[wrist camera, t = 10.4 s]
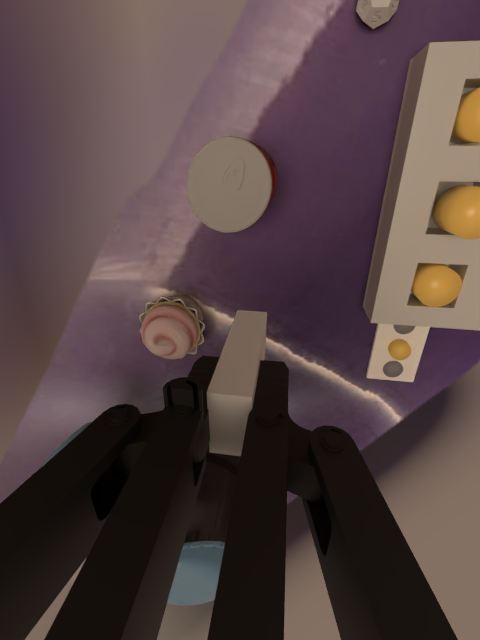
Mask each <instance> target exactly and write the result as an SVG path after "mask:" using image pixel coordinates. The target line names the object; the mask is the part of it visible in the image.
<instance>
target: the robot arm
mask: <svg viewBox="0 0 480 640" xmlns="http://www.w3.org/2000/svg"><path fill="white" fill-rule="evenodd" d="M266 323H267V312H258V311H243V310H237V313H236V316H235V318H234V321H233V324H232V326H231V329H230V332H229V334H228V337H227V340H226V342H225V345H224V348H223V350H222V353H221V356H220V357H211V356H202V357H201V358H199V359H198V360H197V361H196V362H195V363H194V365H193V367H192V369H191V371H190V373H189V375H188V377H183V378H177V379H173V380H171V381H169V382H168V383H166V384H165V386H164V387H163V394H164V402H165V408H164V410H162V411H159V412H154V413H147V414H140V412H139V410H138V408H137V407H135V406H133V405H128V404H122V405H117V406H114V407H111V408H109V409H108V410H106V411H105V412H103V413H102V414H101V415H100V416H99V417H98V418H96V419H95V420H94V421H93V422H90V423H87V424H85V425H84V426H82V427H81V428H79V429H78V430H77V431H76V432H75V433H74V434H73V435H71V436H70V437H69V438H68V439H67V440H66V441H65V442H64V443H63V444H62V445H61V446H60V447H59V448H58V449H57V450H56V451H55V452H54V453H53V454H52V455H51V456H50V457H49V458H48V459H47V461H46V462H45V463H44V464H43V465H42V466H41V467H40V468H39V469H38V471H37V472H36V473H34V474H33V475H32V476H31V477H30V478H29V479H28V480H26V481H25V482H24V483H23V484H22V485H21V486H20V487H19V488H17V489H16V490H15V491H14V492H13V493H12V494H11V495H10V496H8V497H7V498H6V499H5V500H4V501H3V502H2V503H1V504H0V640H157V636H158V632H159V629H160V626H161V622H162V618H163V615H164V611H165V608H166V604H172V605H197V604H203V603H206V602H210V601H212V600H214V599H215V601H214V606H213V612H212V618H211V623H210V628H209V634H208V640H284V601H285V556H286V510H287V491H289V492H291V493H293V494H295V495H298V496H300V497H302V500H303V504H304V508H305V512H306V515H307V518H308V522H309V526H310V529H311V533H312V537H313V540H314V543H315V547H316V550H317V554H318V558H319V562H320V565H321V569H322V573H323V576H324V580H325V583H326V587H327V590H328V594H329V598H330V601H331V605H332V608H333V612H334V615H335V619H336V623H337V626H338V630H339V633H340V637H341V640H458V639H457V637H456V635H455V633H454V632H453V630H452V628H451V626H450V624H449V622H448V620H447V618H446V616H445V614H444V612H443V611H442V609H441V607H440V605H439V603H438V601H437V599H436V597H435V595H434V593H433V591H432V589H431V588H430V586H429V584H428V582H427V580H426V578H425V576H424V574H423V572H422V571H421V568H420V567H419V565H418V563H417V561H416V559H415V557H414V555H413V553H412V551H411V549H410V547H409V546H408V544H407V542H406V540H405V538H404V536H403V534H402V532H401V530H400V528H399V526H398V524H397V523H396V521H395V519H394V517H393V515H392V513H391V511H390V509H389V507H388V505H387V503H386V501H385V500H384V498H383V496H382V494H381V492H380V491H379V488H378V486H377V484H376V482H375V480H374V479H373V477H372V475H371V473H370V471H369V469H368V467H367V465H366V463H365V461H364V459H363V457H362V455H361V454H360V452H359V450H358V448H357V446H356V444H355V442H354V440H353V439H352V438H351V436H350V435H349V434H348V433H346V432H345V431H343V430H342V429H340V428H337V427H334V426H321V427H318V428H316V429H315V430H313V431H309V430H307V429H304V428H302V427H300V426H298V425H297V424H295V423H294V422H293V421H292V420H291V418H290V416H289V414H288V375H289V369H288V368H287V366H286V365H285V363H284V362H277V361H266V360H265V344H266Z"/></svg>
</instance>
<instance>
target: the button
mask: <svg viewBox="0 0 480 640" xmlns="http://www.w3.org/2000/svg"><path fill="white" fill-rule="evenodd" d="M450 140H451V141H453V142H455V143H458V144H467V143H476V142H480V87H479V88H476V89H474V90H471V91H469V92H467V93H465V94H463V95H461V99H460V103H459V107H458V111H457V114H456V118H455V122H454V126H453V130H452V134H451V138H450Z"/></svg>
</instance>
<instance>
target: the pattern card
mask: <svg viewBox="0 0 480 640" xmlns="http://www.w3.org/2000/svg"><path fill="white" fill-rule="evenodd" d="M429 328H430V327H424V326H409V325H395V324H380V323H377V326H376V331H375V336H374V340H373V345H372V349H371V354H370V358H369V363H368V367H367V372H366V378H372V379H383V380H394V381H405V382H413V381H414V378H415V374H416V371H417V368H418V364H419V361H420V358H421V355H422V351H423V348H424V345H425V341H426V338H427V335H428V332H429Z"/></svg>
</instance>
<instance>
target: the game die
mask: <svg viewBox="0 0 480 640" xmlns="http://www.w3.org/2000/svg"><path fill="white" fill-rule="evenodd" d="M398 3H399V0H358V4H357V9H356V12H357V13H358V15H359V16H360V17H361V19H362V20H363V22H365V23H366V24H367V25H369V26H370V27H371V28H372V29H374V28H376V27H378V26H380V25H382V24H383V23H385V22H387V21H389V19H390V18H391V17H392V15H393V14H394V13H395V12H396V10H397V7H398Z"/></svg>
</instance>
